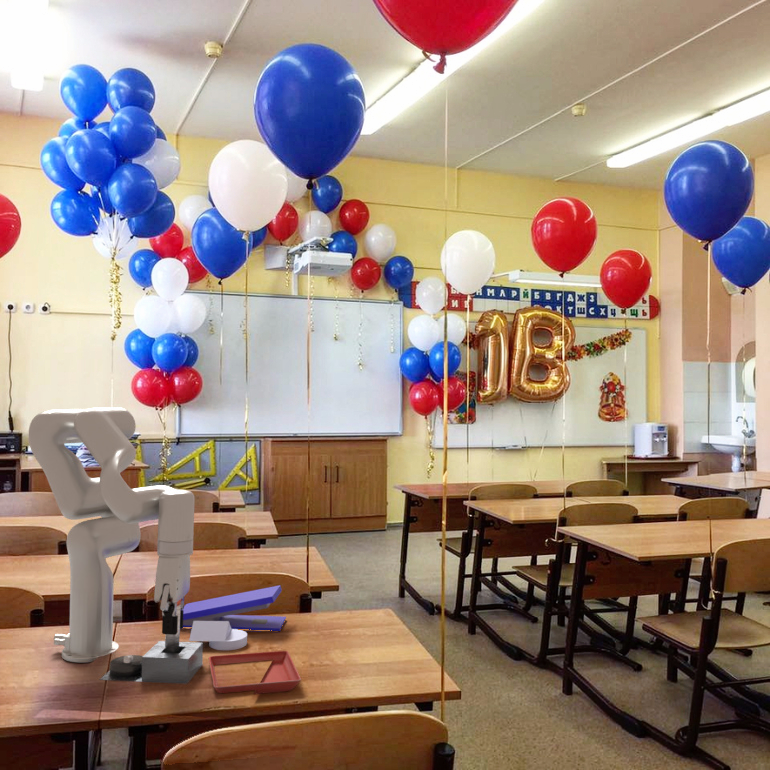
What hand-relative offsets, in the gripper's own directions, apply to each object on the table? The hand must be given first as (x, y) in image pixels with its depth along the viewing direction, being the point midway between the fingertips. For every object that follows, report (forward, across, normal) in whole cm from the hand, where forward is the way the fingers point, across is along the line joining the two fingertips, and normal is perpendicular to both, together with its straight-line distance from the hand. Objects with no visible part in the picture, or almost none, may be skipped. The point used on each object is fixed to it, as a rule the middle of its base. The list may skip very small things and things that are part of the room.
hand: (172, 630), depth 161 cm
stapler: (+11, -37, +3) cm, 39 cm away
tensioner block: (+10, 0, -4) cm, 11 cm away
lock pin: (+6, 0, 0) cm, 6 cm away
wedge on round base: (+11, -19, +6) cm, 22 cm away
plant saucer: (+11, 0, +18) cm, 21 cm away
